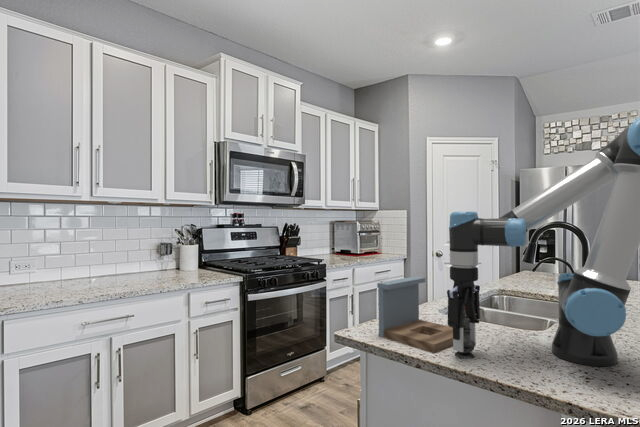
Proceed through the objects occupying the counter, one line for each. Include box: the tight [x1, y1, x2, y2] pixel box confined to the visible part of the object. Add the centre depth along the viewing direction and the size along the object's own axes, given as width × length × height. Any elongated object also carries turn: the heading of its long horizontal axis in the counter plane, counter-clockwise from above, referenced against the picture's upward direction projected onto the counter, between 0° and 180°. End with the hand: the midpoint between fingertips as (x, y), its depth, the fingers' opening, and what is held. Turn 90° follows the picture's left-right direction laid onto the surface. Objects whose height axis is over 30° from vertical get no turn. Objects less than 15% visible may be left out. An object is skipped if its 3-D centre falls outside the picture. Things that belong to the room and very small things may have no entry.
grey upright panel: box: [376, 276, 426, 339], centre depth 132 cm, size 4×20×18 cm, turn 130°
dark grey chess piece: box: [454, 313, 476, 360], centre depth 110 cm, size 6×6×12 cm
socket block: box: [383, 319, 453, 354], centre depth 125 cm, size 19×19×2 cm
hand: (464, 347), depth 110 cm, fingers closed on dark grey chess piece, 6 cm apart
